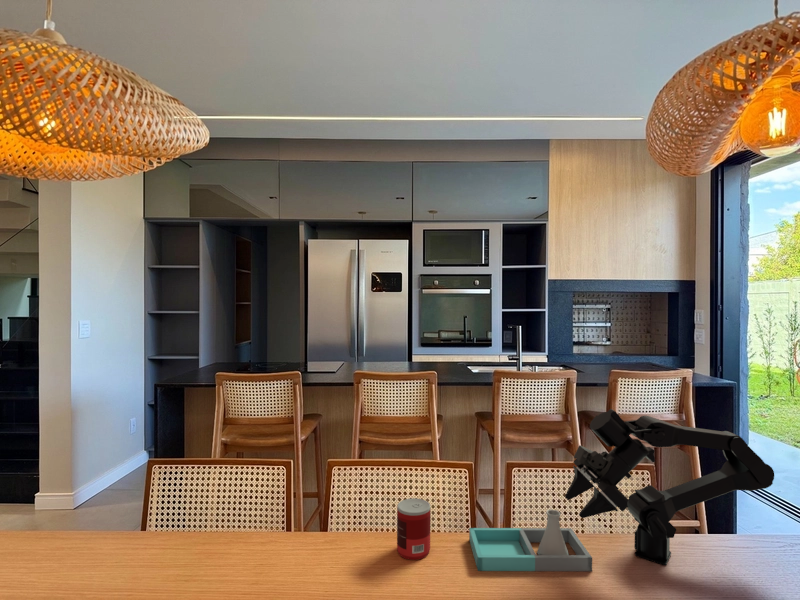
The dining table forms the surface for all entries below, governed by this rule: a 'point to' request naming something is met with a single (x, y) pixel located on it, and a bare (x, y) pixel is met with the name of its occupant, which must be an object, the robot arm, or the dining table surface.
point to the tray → (524, 551)
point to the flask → (552, 536)
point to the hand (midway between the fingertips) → (573, 507)
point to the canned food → (413, 528)
